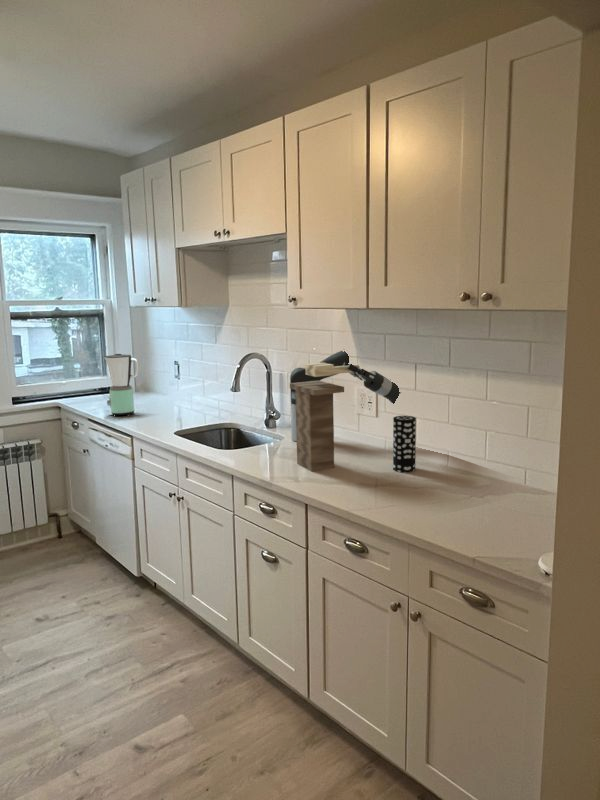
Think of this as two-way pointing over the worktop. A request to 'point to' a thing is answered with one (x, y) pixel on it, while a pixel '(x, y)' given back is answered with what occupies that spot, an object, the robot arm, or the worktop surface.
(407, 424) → the spotted tube
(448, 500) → the worktop surface
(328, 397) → the wooden t-shaped post
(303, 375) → the robot arm
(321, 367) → the beige stepped hammer block
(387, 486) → the worktop surface
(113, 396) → the mint green blender
